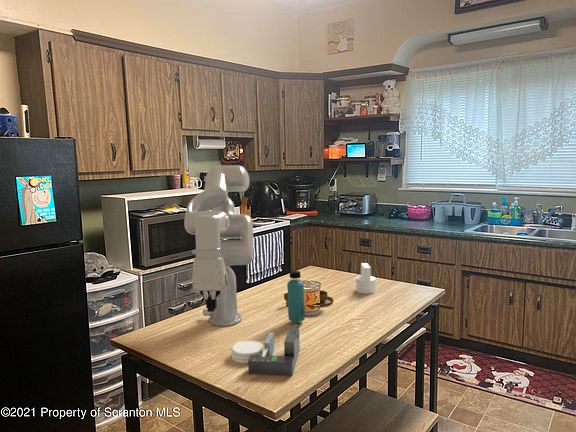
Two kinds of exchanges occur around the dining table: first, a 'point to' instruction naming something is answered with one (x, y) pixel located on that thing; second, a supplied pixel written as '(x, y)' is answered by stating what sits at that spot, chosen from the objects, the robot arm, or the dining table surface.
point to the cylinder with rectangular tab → (365, 280)
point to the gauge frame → (278, 358)
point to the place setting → (322, 298)
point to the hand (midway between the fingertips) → (211, 310)
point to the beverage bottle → (296, 298)
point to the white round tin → (246, 350)
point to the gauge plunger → (269, 345)
